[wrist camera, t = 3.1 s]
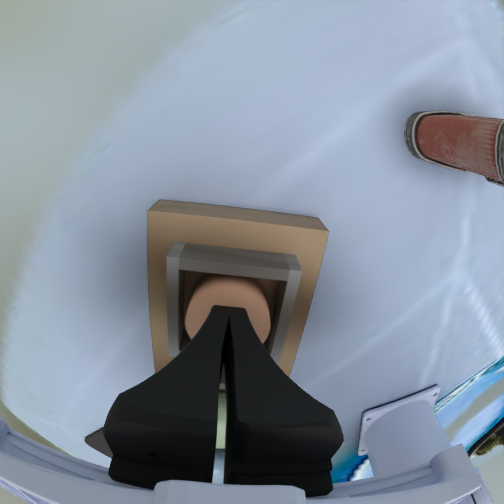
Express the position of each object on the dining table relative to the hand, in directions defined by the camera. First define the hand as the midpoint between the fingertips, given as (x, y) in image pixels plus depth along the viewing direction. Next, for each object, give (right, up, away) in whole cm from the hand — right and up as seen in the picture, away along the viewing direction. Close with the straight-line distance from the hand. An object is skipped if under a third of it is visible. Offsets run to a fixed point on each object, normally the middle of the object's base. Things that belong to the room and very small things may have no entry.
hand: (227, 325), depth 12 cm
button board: (-1, -5, +6) cm, 8 cm away
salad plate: (+50, -31, +20) cm, 63 cm away
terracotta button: (0, +1, +2) cm, 2 cm away
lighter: (+13, +10, +1) cm, 16 cm away
